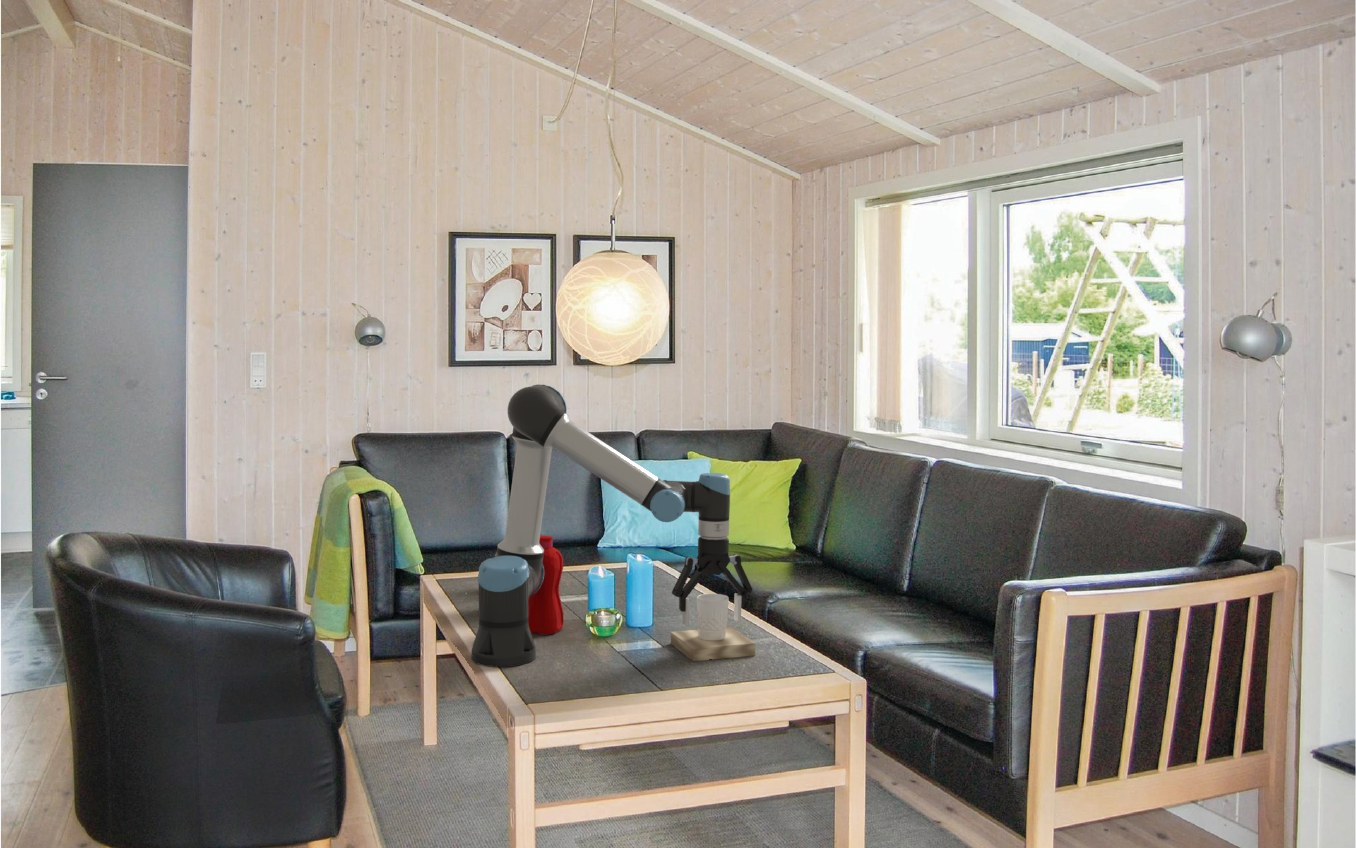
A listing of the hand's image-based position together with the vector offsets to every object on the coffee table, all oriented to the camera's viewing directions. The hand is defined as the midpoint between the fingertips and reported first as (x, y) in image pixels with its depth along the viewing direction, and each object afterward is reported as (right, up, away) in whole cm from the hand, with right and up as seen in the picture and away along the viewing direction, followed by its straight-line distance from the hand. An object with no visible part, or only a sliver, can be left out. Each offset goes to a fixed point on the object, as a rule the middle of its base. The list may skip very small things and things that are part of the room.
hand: (711, 622), depth 273 cm
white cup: (0, -4, 0) cm, 4 cm away
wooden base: (0, -7, 0) cm, 7 cm away
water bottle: (-43, -5, +17) cm, 46 cm away
